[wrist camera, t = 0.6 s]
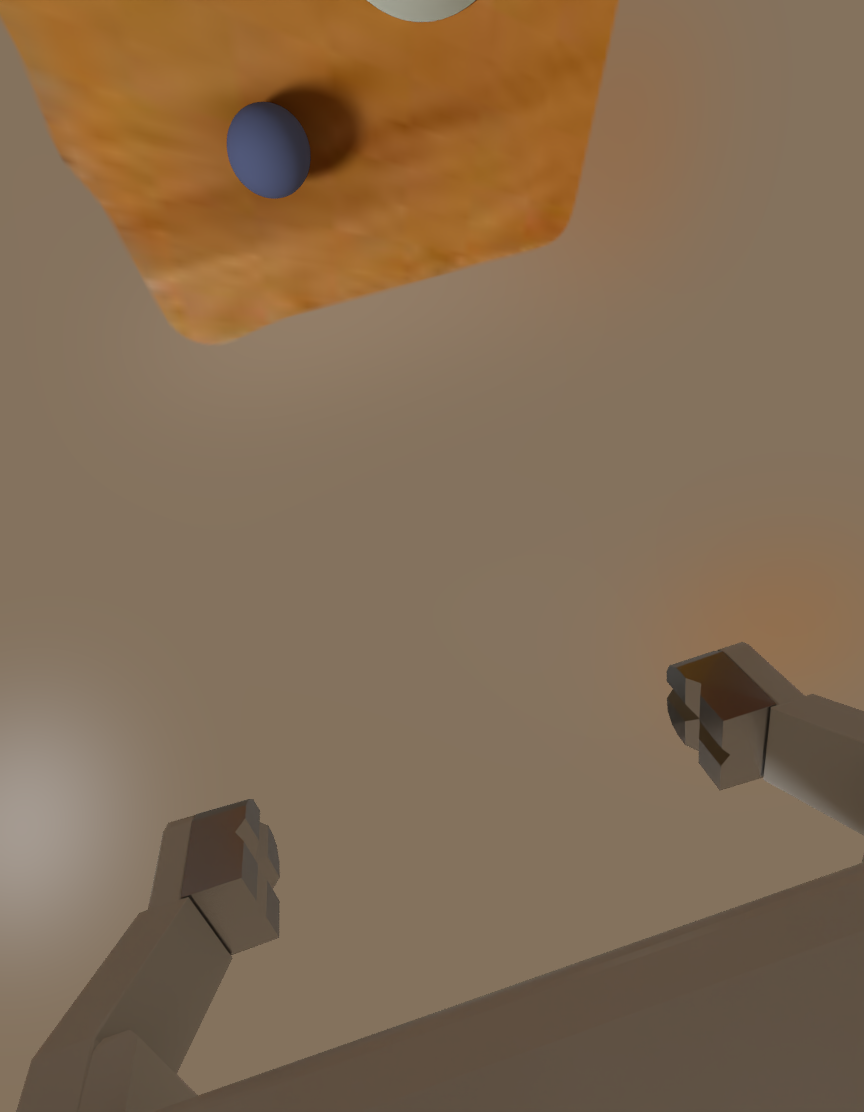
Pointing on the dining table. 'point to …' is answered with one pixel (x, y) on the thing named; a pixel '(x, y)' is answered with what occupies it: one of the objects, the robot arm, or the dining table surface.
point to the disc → (421, 8)
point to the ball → (268, 150)
